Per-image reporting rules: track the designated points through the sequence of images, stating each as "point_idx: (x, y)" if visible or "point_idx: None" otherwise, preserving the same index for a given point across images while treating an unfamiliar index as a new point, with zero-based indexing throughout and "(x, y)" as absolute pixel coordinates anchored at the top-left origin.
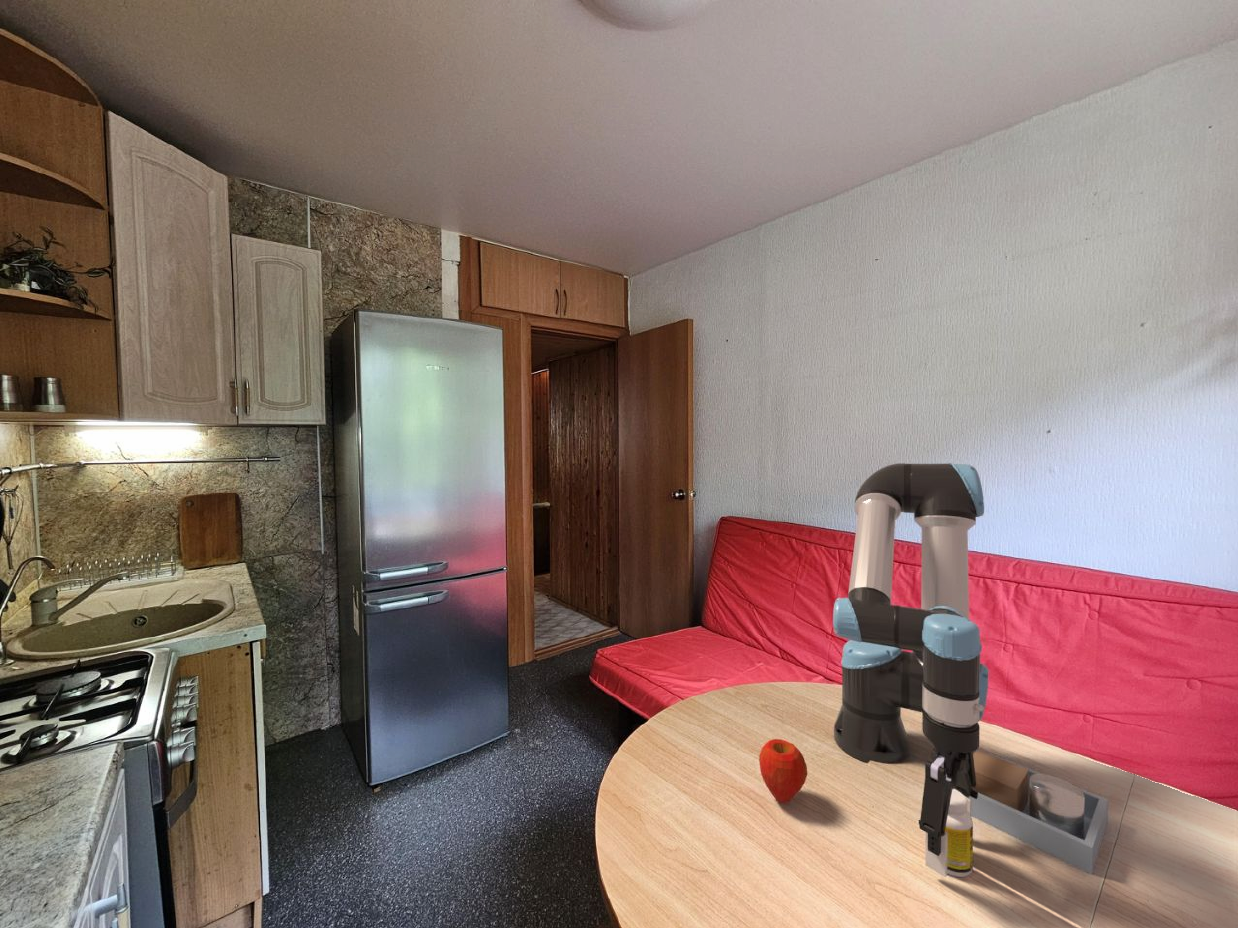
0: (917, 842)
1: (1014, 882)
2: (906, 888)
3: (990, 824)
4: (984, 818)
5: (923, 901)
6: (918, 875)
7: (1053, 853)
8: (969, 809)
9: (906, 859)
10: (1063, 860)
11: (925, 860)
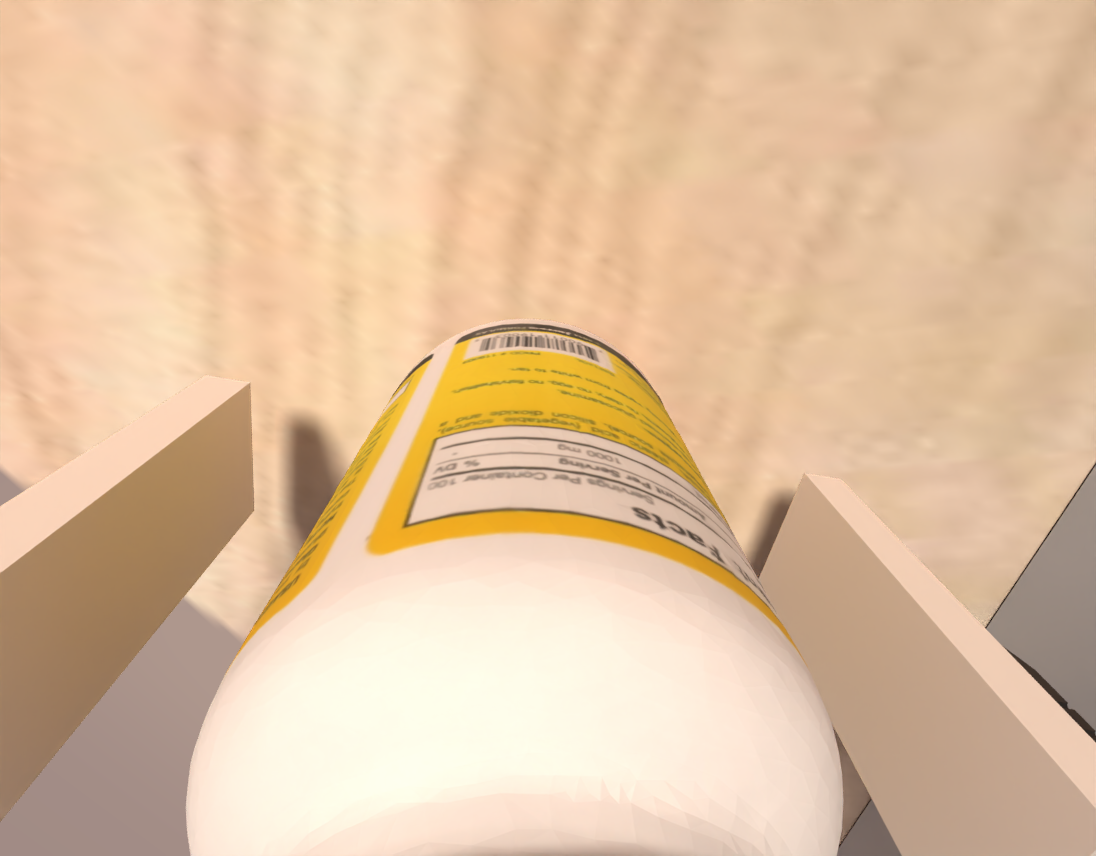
0: (592, 233)
1: None
2: (19, 250)
3: (1031, 627)
4: (1068, 618)
5: (23, 367)
6: (229, 301)
7: (890, 839)
8: (889, 831)
9: (322, 191)
10: (868, 849)
11: (183, 390)
